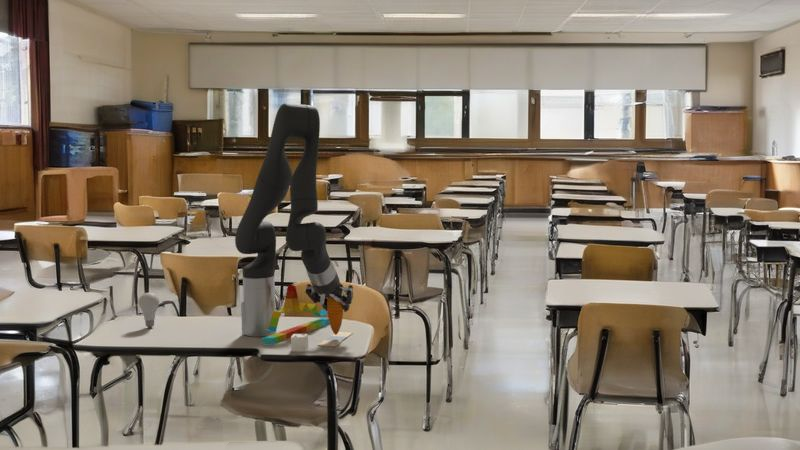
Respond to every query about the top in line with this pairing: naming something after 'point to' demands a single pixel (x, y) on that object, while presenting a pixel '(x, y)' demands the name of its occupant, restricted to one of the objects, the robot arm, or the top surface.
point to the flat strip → (335, 339)
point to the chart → (297, 307)
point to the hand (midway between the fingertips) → (337, 308)
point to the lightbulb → (149, 307)
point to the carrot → (334, 314)
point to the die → (299, 342)
